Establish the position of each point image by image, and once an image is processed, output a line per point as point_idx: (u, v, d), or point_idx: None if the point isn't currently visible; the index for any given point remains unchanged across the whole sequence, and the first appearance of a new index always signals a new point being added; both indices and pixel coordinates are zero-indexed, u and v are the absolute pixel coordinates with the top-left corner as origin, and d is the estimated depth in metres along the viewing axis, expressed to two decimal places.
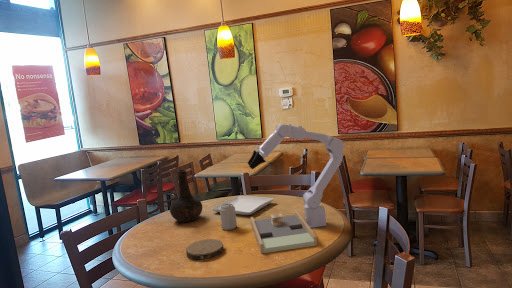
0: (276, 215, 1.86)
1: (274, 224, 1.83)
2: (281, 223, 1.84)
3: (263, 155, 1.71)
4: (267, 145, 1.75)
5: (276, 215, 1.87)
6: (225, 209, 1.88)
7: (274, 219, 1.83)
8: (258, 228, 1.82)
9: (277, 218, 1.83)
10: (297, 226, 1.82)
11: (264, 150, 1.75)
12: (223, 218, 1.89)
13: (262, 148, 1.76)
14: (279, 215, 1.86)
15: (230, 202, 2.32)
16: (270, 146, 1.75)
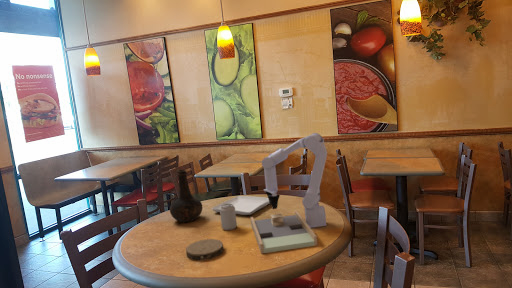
0: (276, 215, 1.86)
1: (274, 224, 1.83)
2: (281, 223, 1.84)
3: (273, 194, 1.84)
4: (270, 183, 1.88)
5: (276, 215, 1.87)
6: (225, 209, 1.88)
7: (274, 219, 1.83)
8: (258, 228, 1.82)
9: (277, 218, 1.83)
10: (297, 226, 1.82)
11: (271, 188, 1.89)
12: (223, 218, 1.89)
13: (268, 188, 1.89)
14: (279, 215, 1.86)
15: (230, 202, 2.32)
16: (272, 182, 1.88)
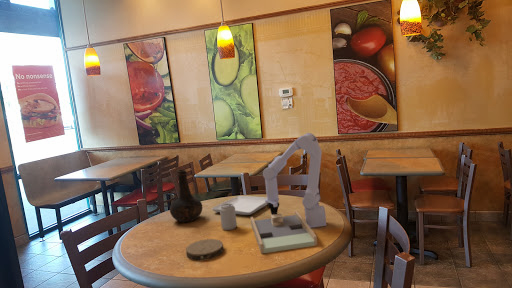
0: (276, 215, 1.86)
1: (274, 224, 1.83)
2: (281, 223, 1.84)
3: (274, 205, 1.85)
4: (271, 194, 1.89)
5: (276, 215, 1.87)
6: (225, 209, 1.88)
7: (274, 219, 1.83)
8: (258, 228, 1.82)
9: (277, 218, 1.83)
10: (297, 226, 1.82)
11: (272, 199, 1.89)
12: (223, 218, 1.89)
13: (269, 199, 1.90)
14: (279, 215, 1.86)
15: (230, 202, 2.32)
16: (273, 192, 1.89)
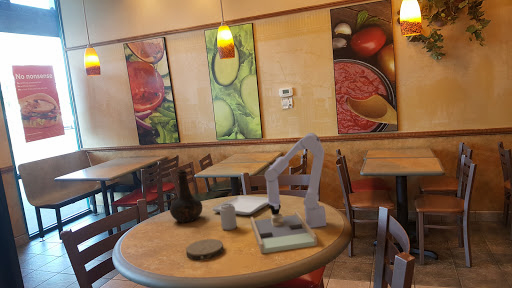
0: (276, 215, 1.86)
1: (274, 224, 1.83)
2: (281, 223, 1.84)
3: (276, 207, 1.82)
4: (272, 196, 1.86)
5: (276, 215, 1.87)
6: (225, 209, 1.88)
7: (274, 219, 1.83)
8: (258, 228, 1.82)
9: (277, 218, 1.83)
10: (297, 226, 1.82)
11: (273, 201, 1.86)
12: (223, 218, 1.89)
13: (271, 201, 1.86)
14: (279, 215, 1.85)
15: (230, 202, 2.32)
16: (274, 194, 1.85)
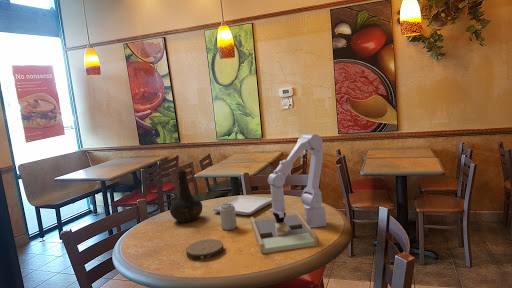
0: (281, 224, 1.73)
1: (278, 233, 1.71)
2: (286, 232, 1.71)
3: (281, 215, 1.69)
4: (277, 203, 1.73)
5: (280, 223, 1.74)
6: (225, 209, 1.88)
7: (278, 228, 1.71)
8: (258, 228, 1.82)
9: (282, 227, 1.71)
10: (297, 226, 1.82)
11: (278, 208, 1.73)
12: (223, 218, 1.89)
13: (275, 208, 1.74)
14: (284, 224, 1.73)
15: (230, 202, 2.32)
16: (279, 201, 1.73)
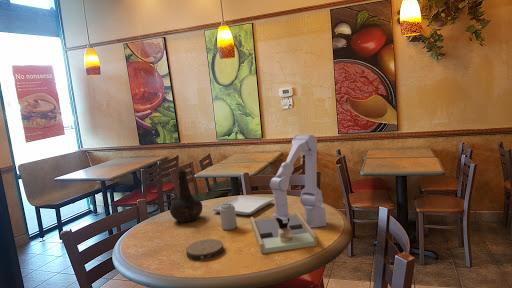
0: (284, 229, 1.66)
1: (282, 240, 1.63)
2: (290, 239, 1.64)
3: (284, 221, 1.62)
4: (280, 208, 1.65)
5: (283, 229, 1.67)
6: (225, 209, 1.88)
7: (282, 234, 1.63)
8: (258, 228, 1.82)
9: (285, 233, 1.63)
10: (297, 226, 1.82)
11: (281, 213, 1.66)
12: (223, 218, 1.89)
13: (278, 213, 1.66)
14: (287, 230, 1.65)
15: (230, 202, 2.32)
16: (282, 206, 1.65)
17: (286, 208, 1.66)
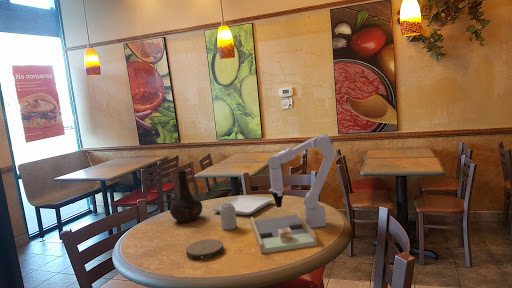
0: (284, 229, 1.66)
1: (282, 240, 1.63)
2: (290, 239, 1.64)
3: (279, 194, 1.80)
4: (275, 183, 1.84)
5: (283, 229, 1.67)
6: (225, 209, 1.88)
7: (282, 234, 1.63)
8: (258, 228, 1.82)
9: (285, 233, 1.63)
10: (297, 226, 1.82)
11: (276, 188, 1.84)
12: (223, 218, 1.89)
13: (274, 188, 1.84)
14: (287, 230, 1.65)
15: (230, 202, 2.32)
16: (277, 181, 1.84)
17: (281, 183, 1.85)
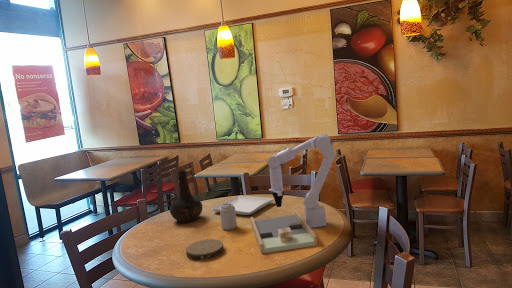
0: (284, 229, 1.66)
1: (282, 240, 1.63)
2: (290, 239, 1.64)
3: (279, 194, 1.80)
4: (275, 183, 1.84)
5: (283, 229, 1.67)
6: (225, 209, 1.88)
7: (282, 234, 1.63)
8: (258, 228, 1.82)
9: (285, 233, 1.63)
10: (297, 226, 1.82)
11: (276, 188, 1.84)
12: (223, 218, 1.89)
13: (274, 188, 1.85)
14: (287, 230, 1.65)
15: (230, 202, 2.32)
16: (277, 181, 1.84)
17: (281, 183, 1.85)
